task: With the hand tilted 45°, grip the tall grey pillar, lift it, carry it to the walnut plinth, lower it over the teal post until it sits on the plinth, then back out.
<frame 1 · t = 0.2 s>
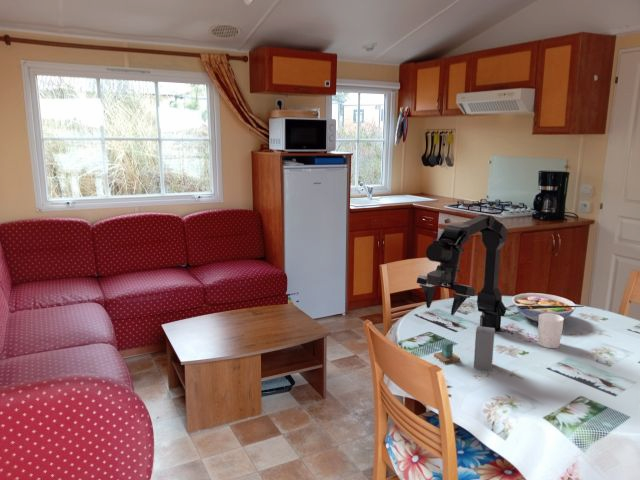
hand: (439, 311, 163), 15 cm above the table, tool tilted 15°, fingers open, 9 cm apart
white cup: (548, 345, 174), on the table
post plinth: (446, 358, 164), on the table
tall grey pillar: (483, 365, 159), on the table
ramen bowl: (541, 320, 197), on the table
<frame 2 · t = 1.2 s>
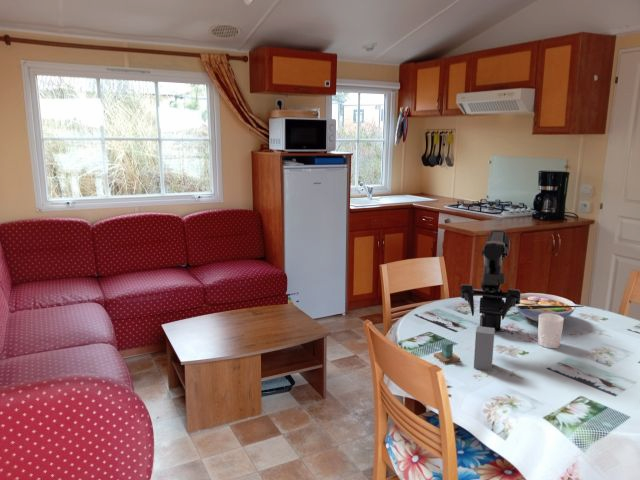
hand: (487, 317, 163), 13 cm above the table, tool tilted 45°, fingers open, 9 cm apart
nothing on the table moved.
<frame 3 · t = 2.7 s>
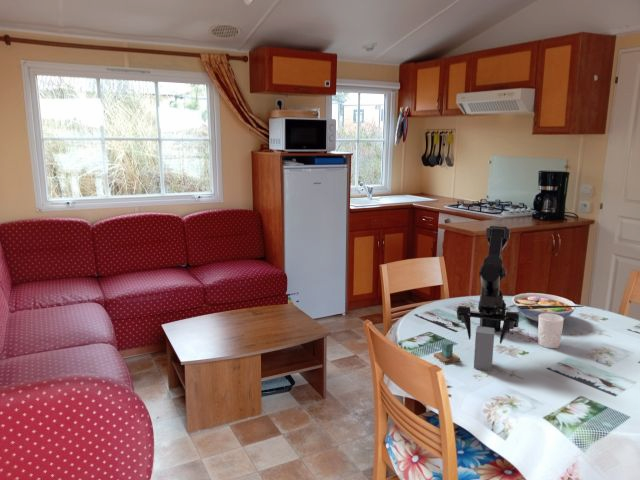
hand: (484, 340, 157), 8 cm above the table, tool tilted 45°, fingers open, 9 cm apart
nothing on the table moved.
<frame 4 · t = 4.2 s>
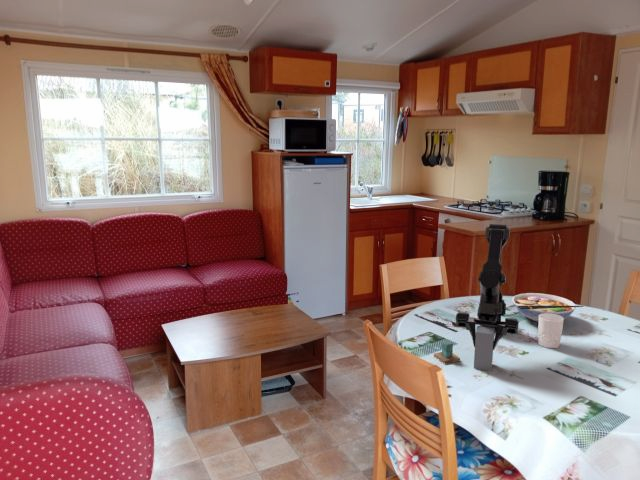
hand: (483, 348, 156), 7 cm above the table, tool tilted 45°, fingers closed on tall grey pillar, 5 cm apart
tall grey pillar: (483, 365, 159), on the table, touching gripper
everything else where it was.
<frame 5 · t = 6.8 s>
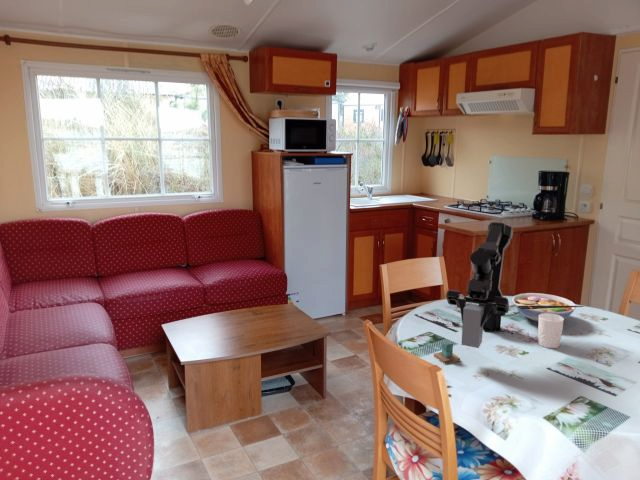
hand: (471, 325, 156), 14 cm above the table, tool tilted 45°, fingers closed on tall grey pillar, 5 cm apart
tall grey pillar: (471, 343, 159), point 7 cm above the table, touching gripper
everything else where it was.
when the fingers open (9 cm above the table, at t = 9.6 s): tall grey pillar stays where it is, resting on post plinth.
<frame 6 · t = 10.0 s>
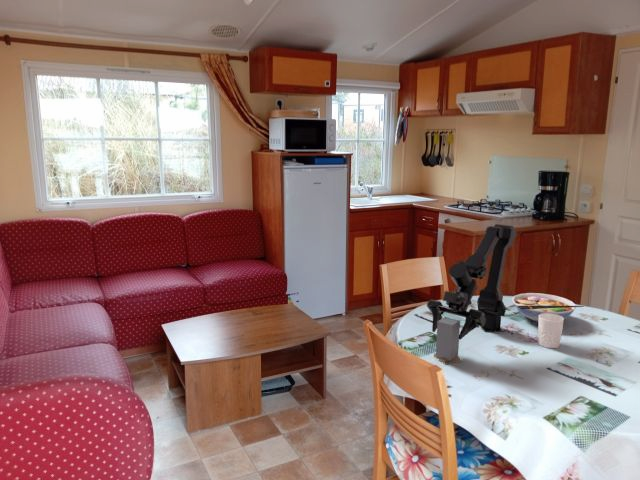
hand: (446, 335, 161), 9 cm above the table, tool tilted 45°, fingers open, 9 cm apart
tall grey pillar: (447, 355, 164), point 1 cm above the table, touching post plinth
everything else where it was.
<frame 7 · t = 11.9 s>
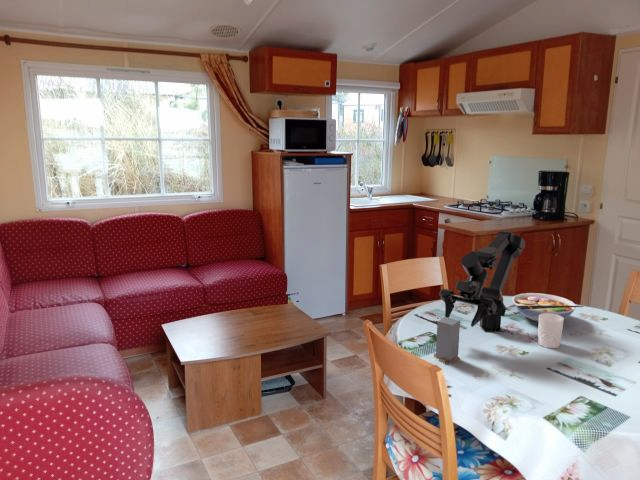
hand: (458, 322, 167), 10 cm above the table, tool tilted 45°, fingers open, 9 cm apart
nothing on the table moved.
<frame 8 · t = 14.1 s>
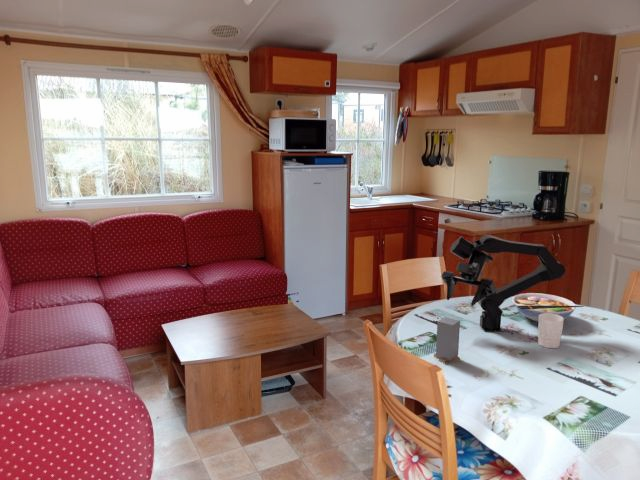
hand: (459, 302, 177), 14 cm above the table, tool tilted 45°, fingers open, 9 cm apart
nothing on the table moved.
at the end: tall grey pillar 0.1 cm from the post plinth (horizontally); tall grey pillar point 1.0 cm above the table; the gripper is holding nothing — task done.
